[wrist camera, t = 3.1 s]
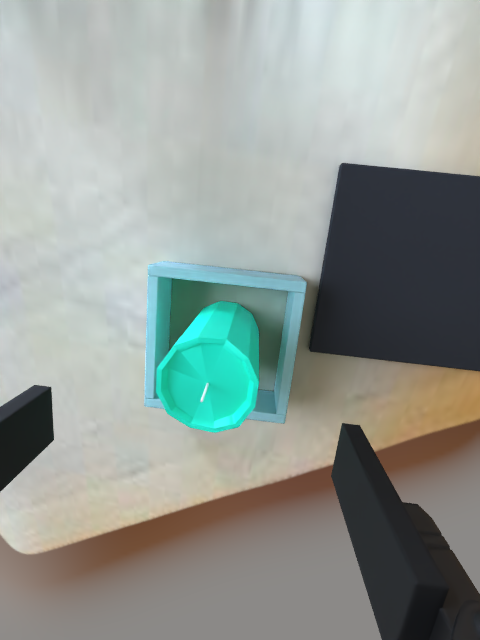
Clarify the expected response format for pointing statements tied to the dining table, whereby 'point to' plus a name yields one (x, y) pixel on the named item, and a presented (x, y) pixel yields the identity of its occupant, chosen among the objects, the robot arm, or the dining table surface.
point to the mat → (402, 268)
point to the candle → (212, 369)
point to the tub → (160, 284)
